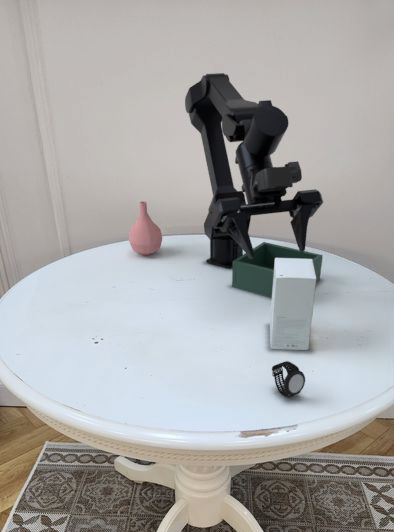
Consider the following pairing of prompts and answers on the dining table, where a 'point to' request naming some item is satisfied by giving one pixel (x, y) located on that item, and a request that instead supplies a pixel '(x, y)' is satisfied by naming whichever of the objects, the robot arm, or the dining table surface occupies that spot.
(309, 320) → the small box
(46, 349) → the dining table surface
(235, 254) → the robot arm
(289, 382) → the smartwatch
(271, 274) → the green storage bin
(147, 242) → the pink vase
